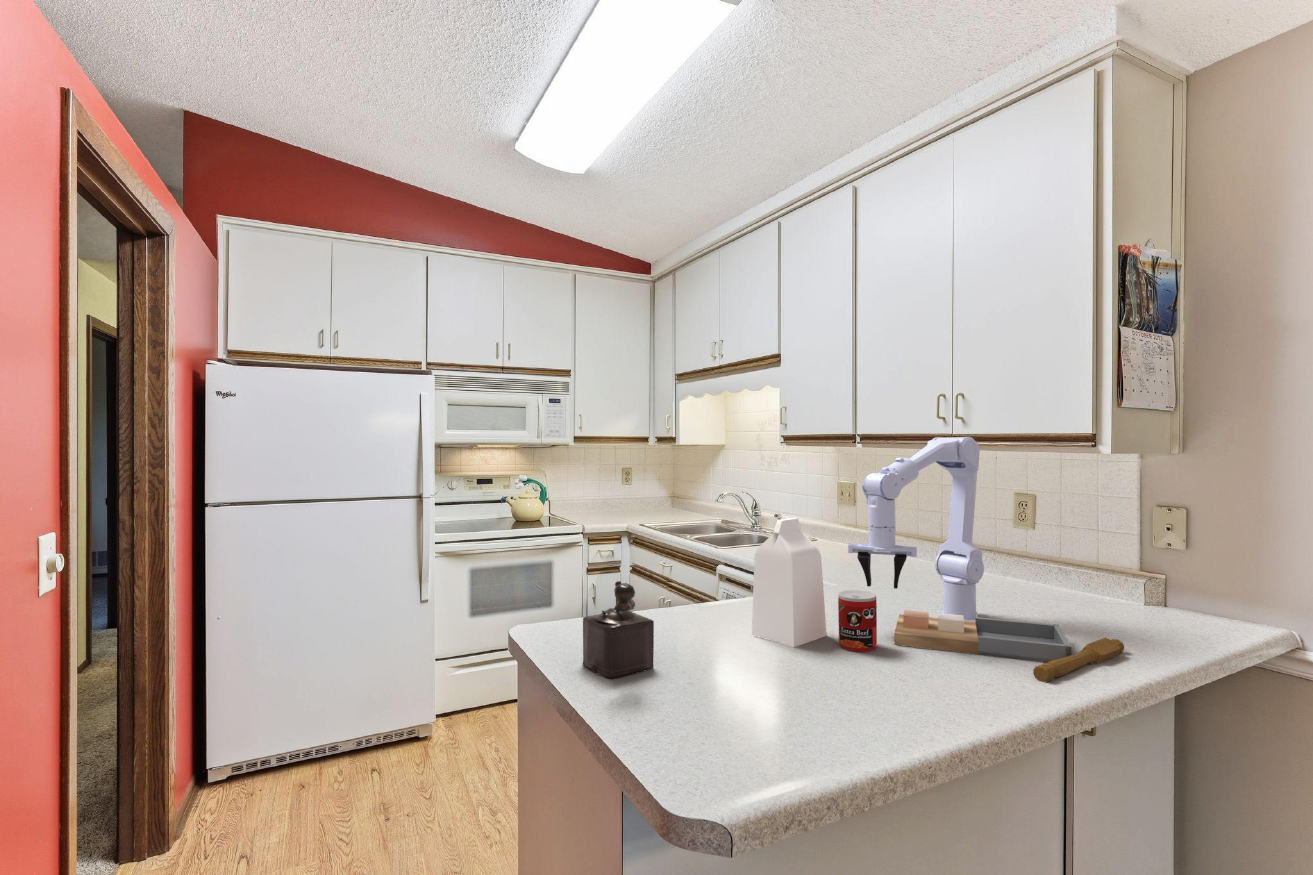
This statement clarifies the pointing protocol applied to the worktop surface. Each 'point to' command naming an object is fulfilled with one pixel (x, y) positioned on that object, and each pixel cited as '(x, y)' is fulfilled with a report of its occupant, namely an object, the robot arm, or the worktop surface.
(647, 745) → the worktop surface
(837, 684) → the worktop surface
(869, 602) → the canned food
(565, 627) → the worktop surface
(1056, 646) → the tray
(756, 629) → the milk
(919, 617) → the tile
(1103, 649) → the tap handle
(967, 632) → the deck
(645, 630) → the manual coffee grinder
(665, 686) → the worktop surface
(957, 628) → the tile
